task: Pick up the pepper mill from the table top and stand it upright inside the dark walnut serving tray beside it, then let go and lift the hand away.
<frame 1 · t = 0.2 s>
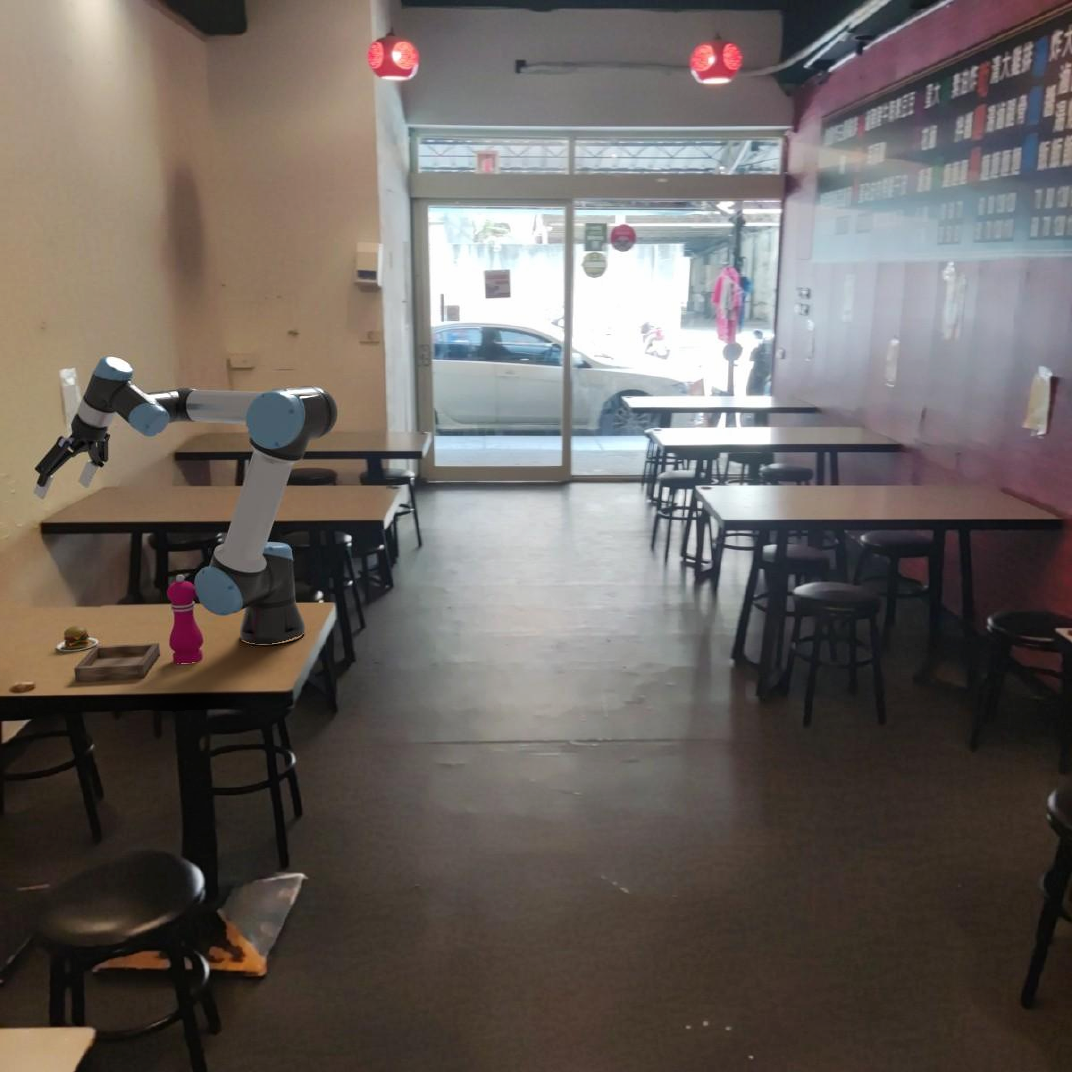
hand: (61, 489, 227), 36 cm above the table, tool tilted 35°, fingers open, 13 cm apart
pepper mill: (188, 660, 216), on the table
hamburger: (78, 649, 226), on the table
walnut tray: (119, 668, 211), on the table
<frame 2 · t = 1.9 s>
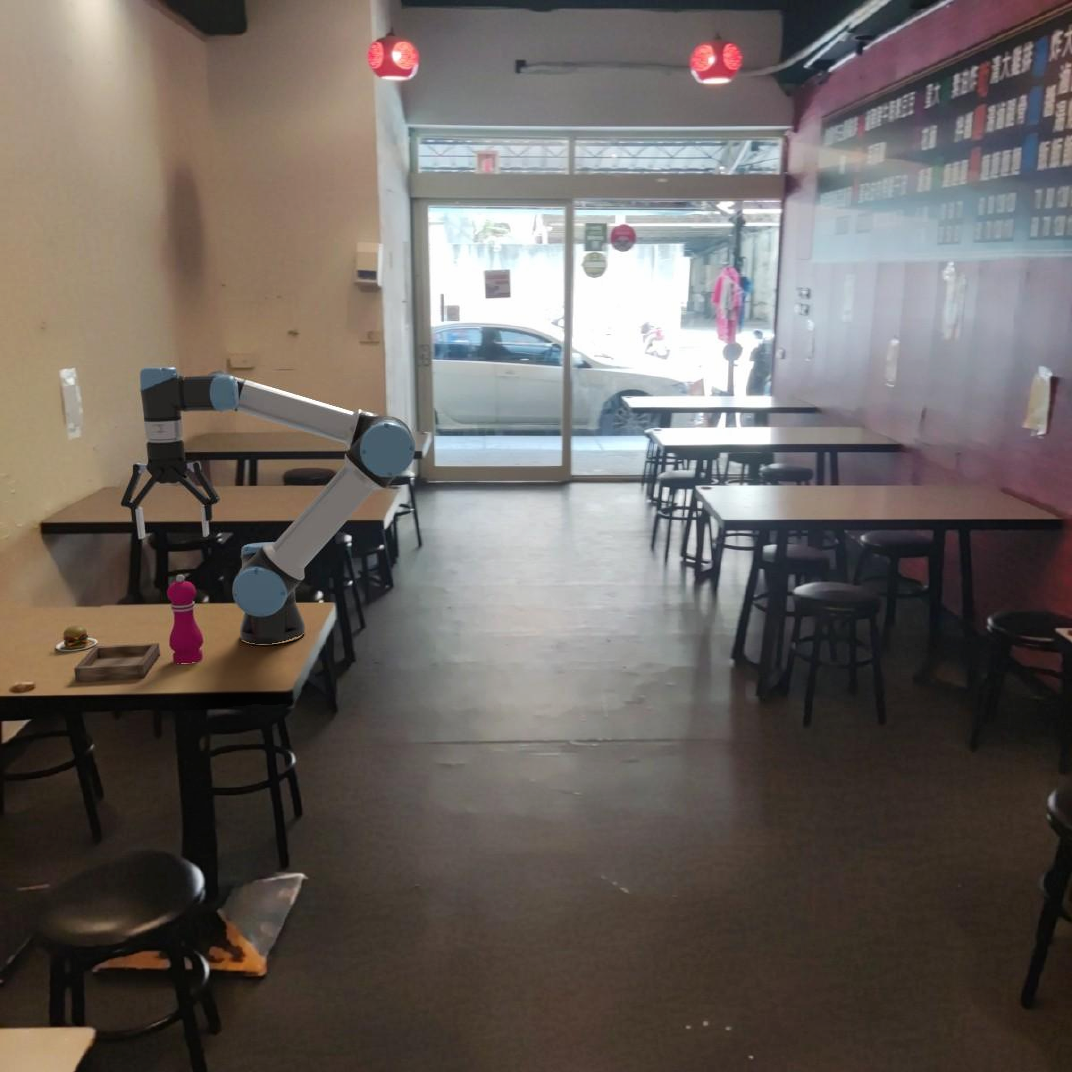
hand: (174, 536, 210), 29 cm above the table, tool pointing down, fingers open, 13 cm apart
nothing on the table moved.
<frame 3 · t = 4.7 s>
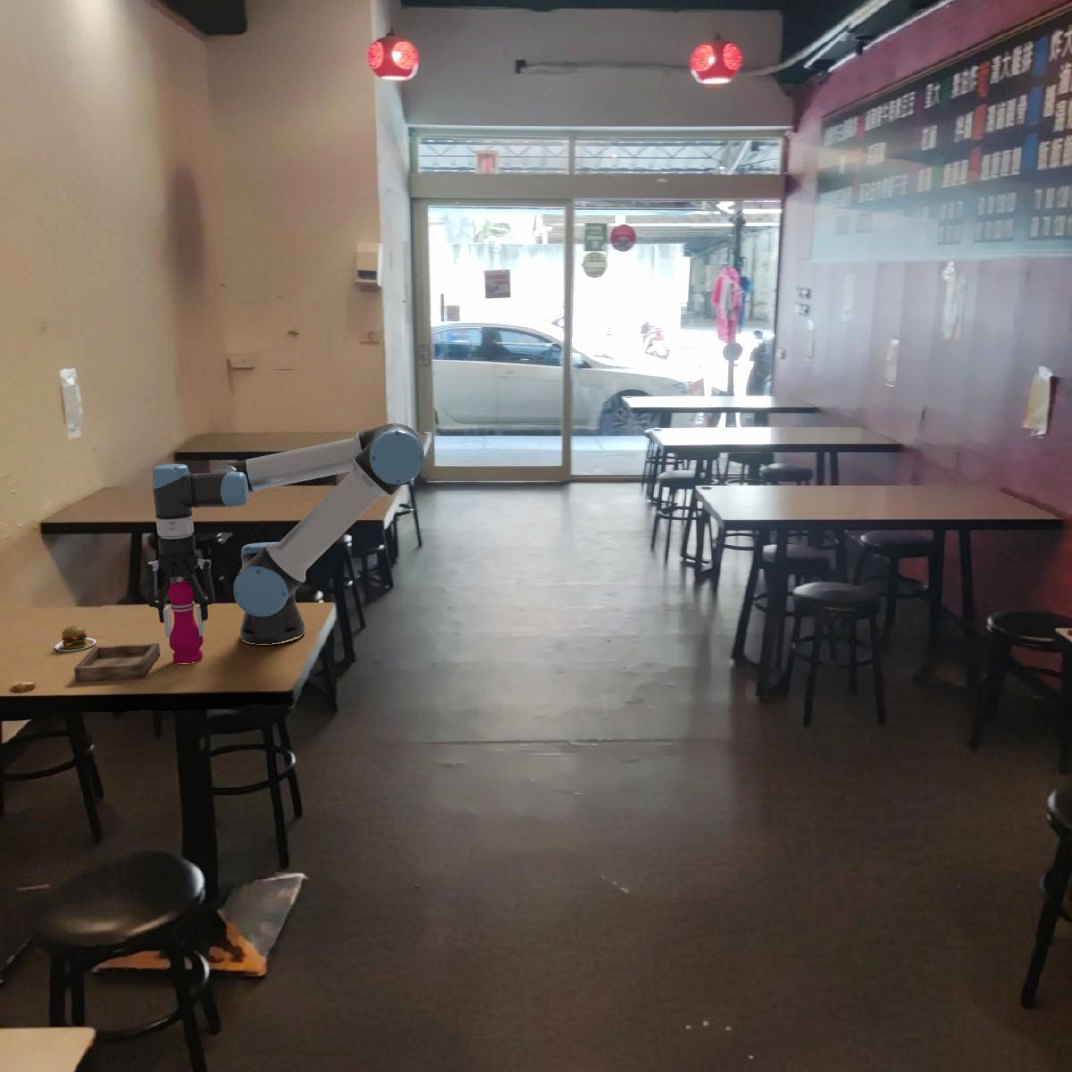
hand: (185, 634, 215), 6 cm above the table, tool pointing down, fingers closed on pepper mill, 6 cm apart
pepper mill: (188, 660, 216), on the table, touching gripper
everything else where it was.
when the fingers open (8 cm above the table, at t = 11.0 s): pepper mill drops 1 cm, resting on walnut tray.
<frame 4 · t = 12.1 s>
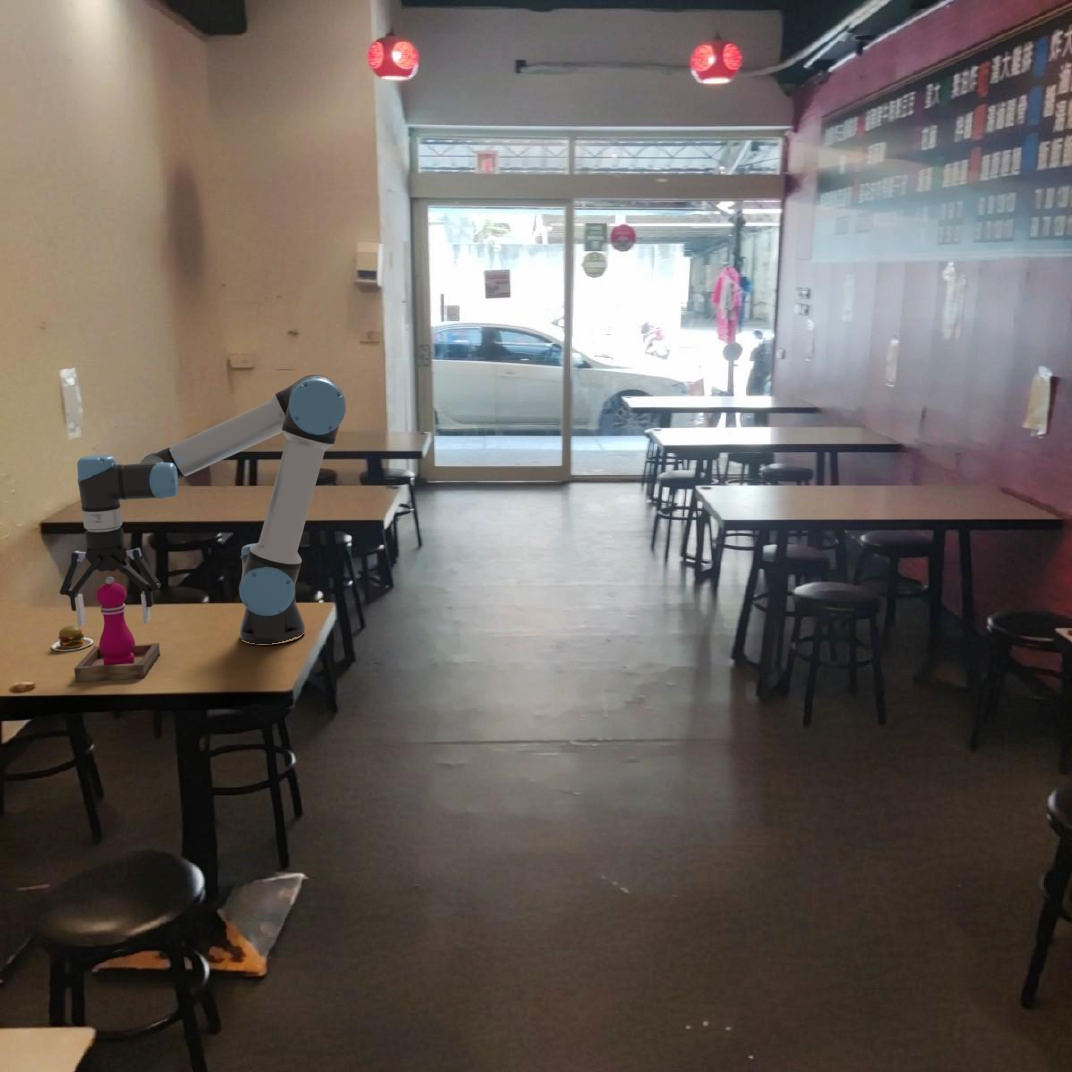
hand: (114, 623, 209), 10 cm above the table, tool pointing down, fingers open, 13 cm apart
pepper mill: (119, 664, 211), point 1 cm above the table, touching walnut tray
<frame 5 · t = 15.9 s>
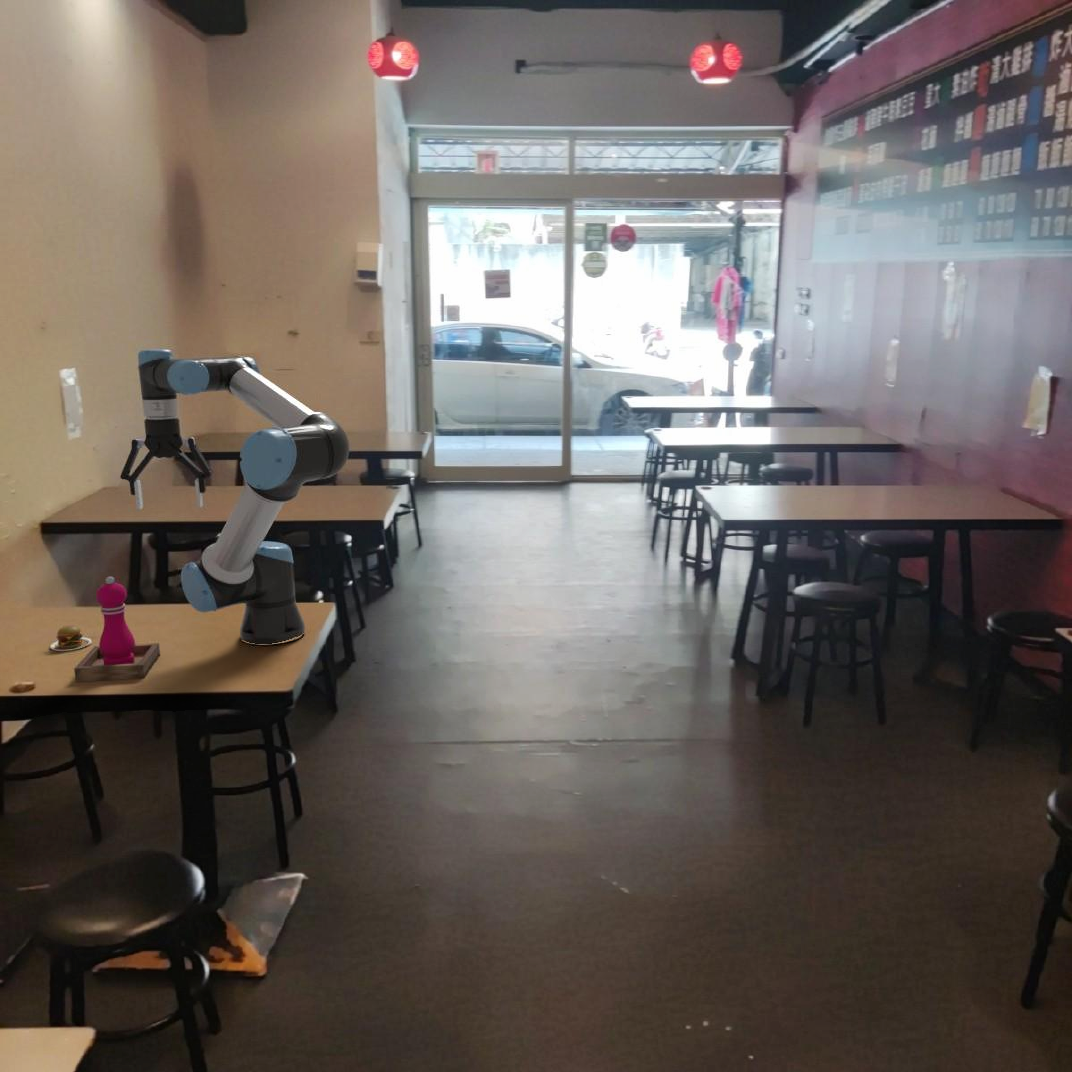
hand: (170, 507, 225), 32 cm above the table, tool pointing down, fingers open, 13 cm apart
at the end: pepper mill inside the target area on the walnut tray (0.1 cm from its centre), point 0.8 cm above the walnut tray's base; pepper mill tilted 0°; the gripper is holding nothing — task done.
